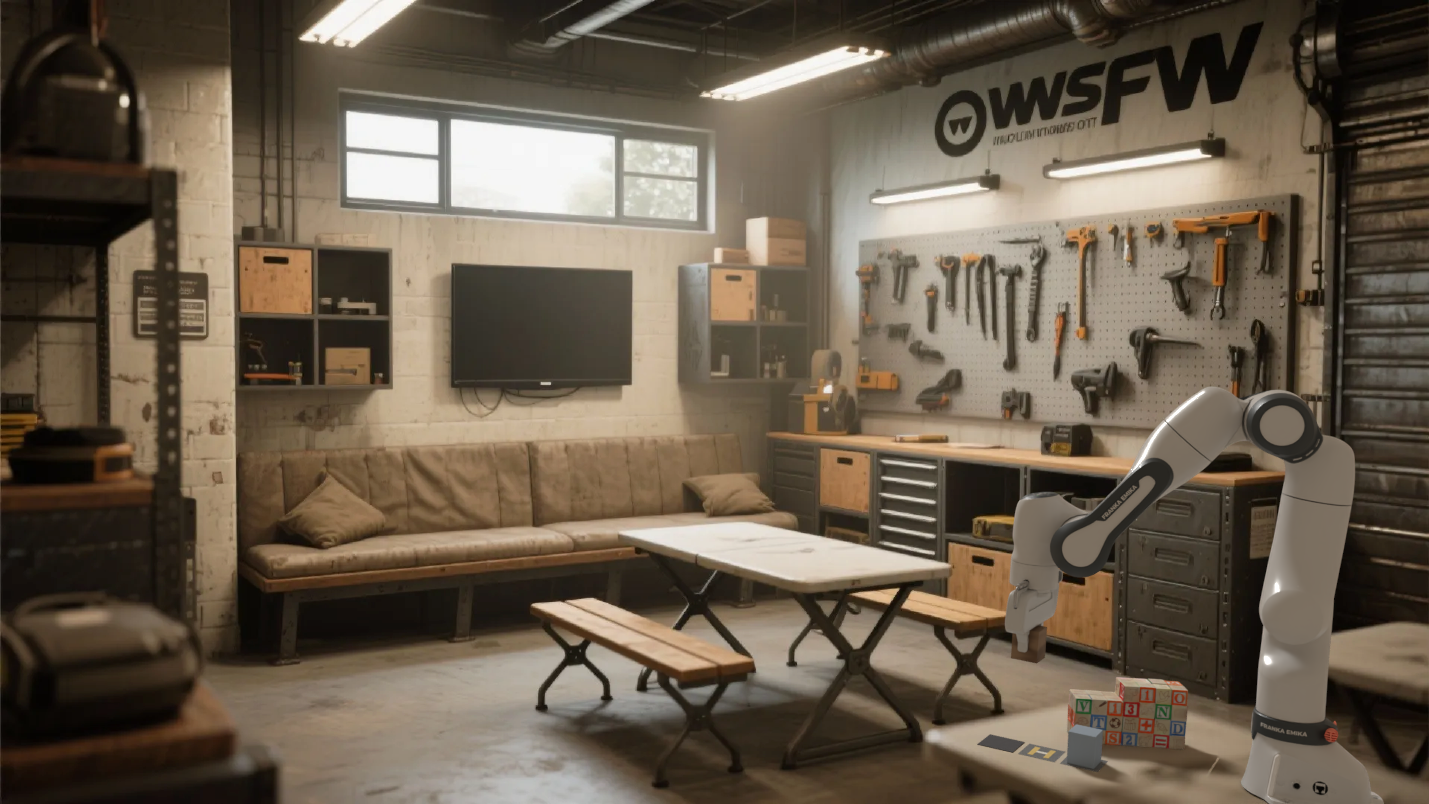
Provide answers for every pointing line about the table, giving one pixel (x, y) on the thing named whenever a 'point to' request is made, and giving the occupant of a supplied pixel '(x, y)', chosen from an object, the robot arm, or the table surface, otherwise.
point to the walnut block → (1031, 646)
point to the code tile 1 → (1041, 752)
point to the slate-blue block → (1084, 746)
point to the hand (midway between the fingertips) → (1028, 647)
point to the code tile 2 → (1086, 767)
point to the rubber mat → (1001, 743)
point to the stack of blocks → (1134, 712)
